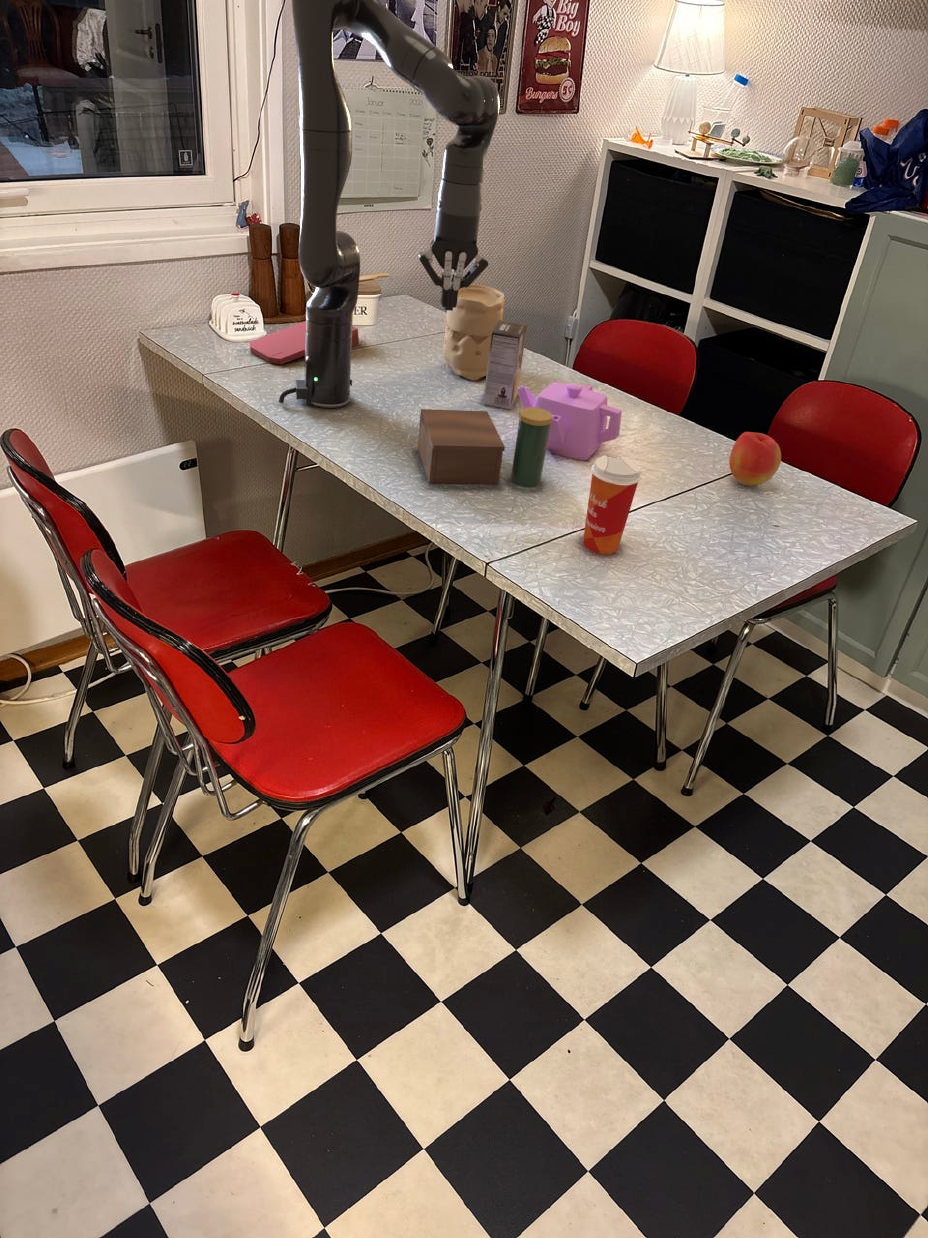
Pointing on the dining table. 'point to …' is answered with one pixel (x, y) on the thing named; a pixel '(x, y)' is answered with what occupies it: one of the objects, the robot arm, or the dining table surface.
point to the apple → (754, 458)
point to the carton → (286, 344)
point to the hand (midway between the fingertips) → (447, 308)
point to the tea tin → (530, 446)
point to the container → (472, 330)
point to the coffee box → (504, 364)
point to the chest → (458, 463)
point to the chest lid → (461, 430)
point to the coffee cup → (609, 502)
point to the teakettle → (575, 418)
